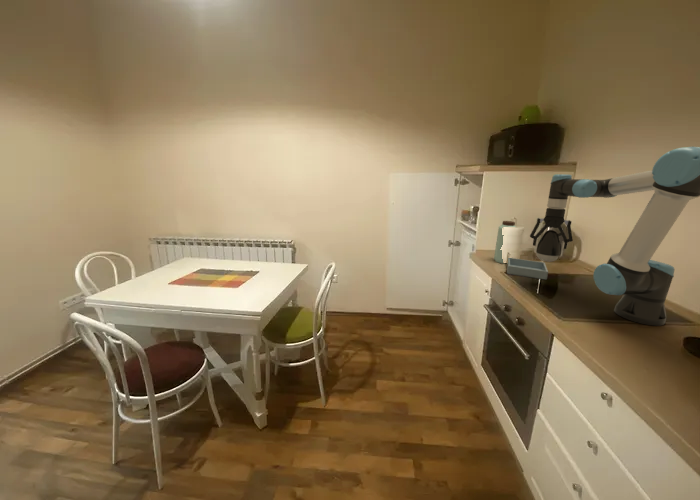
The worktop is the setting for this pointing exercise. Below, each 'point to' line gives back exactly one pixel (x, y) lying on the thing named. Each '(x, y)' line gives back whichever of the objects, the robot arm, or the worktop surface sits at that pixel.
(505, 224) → the water bottle
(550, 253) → the pump dispenser
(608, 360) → the worktop surface
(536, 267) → the bin
